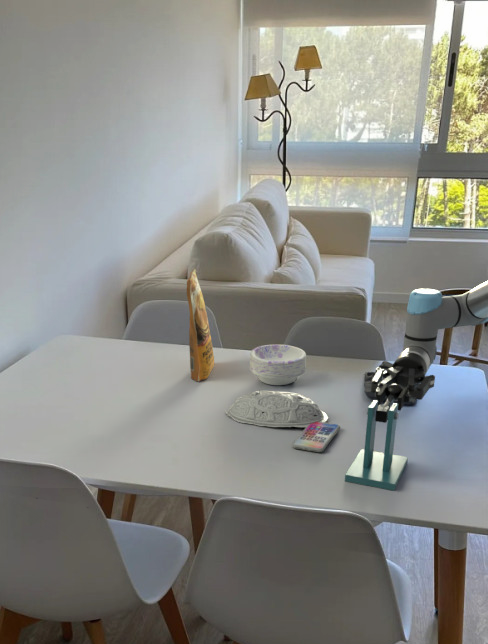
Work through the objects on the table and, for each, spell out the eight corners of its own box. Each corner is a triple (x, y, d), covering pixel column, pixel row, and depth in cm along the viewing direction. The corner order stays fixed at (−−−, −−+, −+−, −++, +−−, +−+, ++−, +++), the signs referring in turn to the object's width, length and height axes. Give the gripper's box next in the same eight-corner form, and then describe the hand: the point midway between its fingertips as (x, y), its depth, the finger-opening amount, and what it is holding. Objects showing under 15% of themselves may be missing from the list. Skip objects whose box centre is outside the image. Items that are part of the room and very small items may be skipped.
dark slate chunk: (354, 401, 180) (356, 384, 178) (365, 374, 199) (367, 357, 197) (416, 408, 176) (418, 390, 174) (421, 379, 195) (423, 363, 193)
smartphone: (290, 444, 155) (311, 419, 167) (290, 448, 155) (311, 423, 167) (322, 449, 152) (341, 424, 164) (322, 453, 152) (341, 428, 165)
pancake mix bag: (181, 383, 192) (178, 279, 180) (195, 361, 209) (193, 265, 197) (205, 384, 191) (203, 280, 179) (217, 362, 208) (216, 266, 196)
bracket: (360, 455, 152) (366, 390, 146) (407, 463, 149) (415, 398, 142) (344, 481, 141) (350, 413, 135) (394, 490, 138) (402, 421, 132)
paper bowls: (275, 393, 185) (276, 364, 182) (238, 378, 196) (238, 350, 192) (316, 381, 194) (318, 353, 190) (279, 367, 204) (280, 340, 201)
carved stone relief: (321, 430, 161) (321, 402, 159) (217, 424, 168) (216, 396, 166) (333, 412, 175) (333, 386, 173) (236, 407, 182) (236, 382, 180)
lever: (387, 395, 151) (388, 380, 149) (404, 398, 150) (405, 382, 148) (371, 423, 140) (372, 407, 138) (389, 426, 139) (390, 409, 137)
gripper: (445, 388, 162) (427, 425, 142) (373, 377, 168) (347, 413, 148) (449, 356, 159) (432, 391, 139) (376, 347, 164) (350, 379, 145)
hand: (388, 402), depth 144 cm, fingers closed on lever, 4 cm apart
